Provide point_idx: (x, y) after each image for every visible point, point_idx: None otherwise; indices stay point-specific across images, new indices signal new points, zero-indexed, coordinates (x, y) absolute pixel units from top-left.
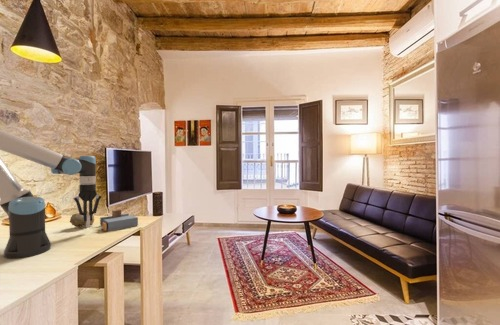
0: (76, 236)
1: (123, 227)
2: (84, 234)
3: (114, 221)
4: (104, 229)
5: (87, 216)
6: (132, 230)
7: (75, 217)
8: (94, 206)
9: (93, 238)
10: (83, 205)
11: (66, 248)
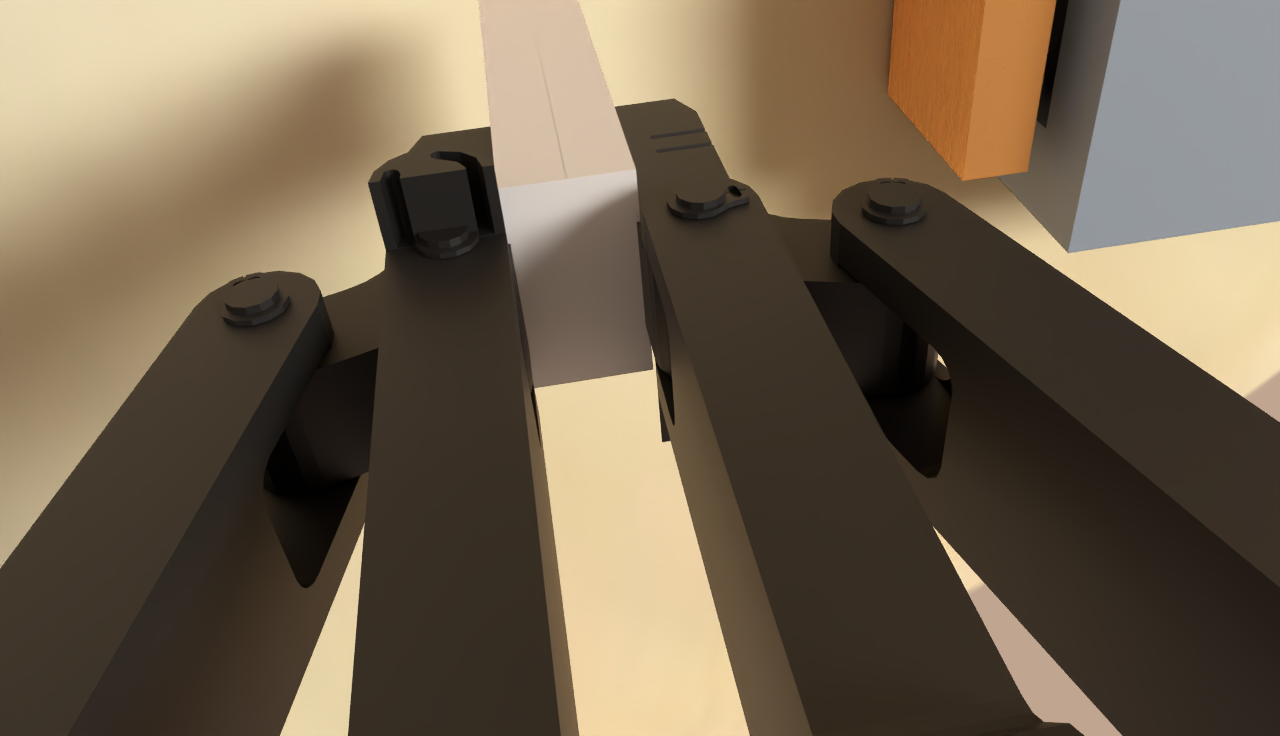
0: (265, 155)
1: None
2: (440, 76)
3: (1229, 225)
4: (908, 112)
5: (554, 367)
6: (1271, 366)
7: None
8: (1028, 491)
9: (592, 489)
10: (373, 691)
11: None
